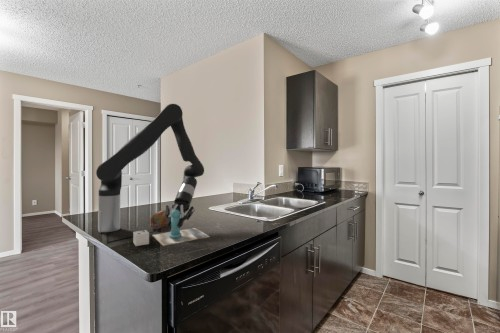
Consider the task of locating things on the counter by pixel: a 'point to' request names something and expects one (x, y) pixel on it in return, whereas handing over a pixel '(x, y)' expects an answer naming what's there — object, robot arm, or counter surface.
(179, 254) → the counter surface
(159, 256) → the counter surface
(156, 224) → the mottled brown slab
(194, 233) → the board
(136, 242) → the die
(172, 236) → the pawn
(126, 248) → the counter surface
